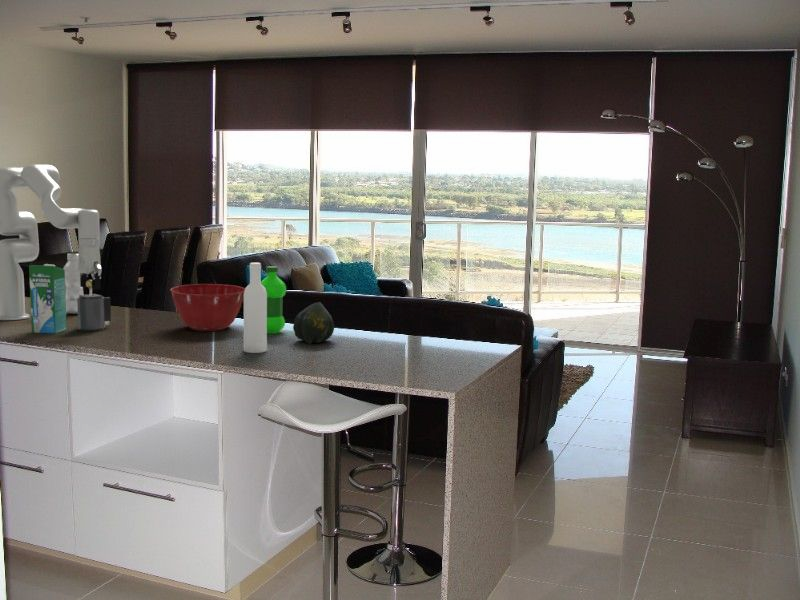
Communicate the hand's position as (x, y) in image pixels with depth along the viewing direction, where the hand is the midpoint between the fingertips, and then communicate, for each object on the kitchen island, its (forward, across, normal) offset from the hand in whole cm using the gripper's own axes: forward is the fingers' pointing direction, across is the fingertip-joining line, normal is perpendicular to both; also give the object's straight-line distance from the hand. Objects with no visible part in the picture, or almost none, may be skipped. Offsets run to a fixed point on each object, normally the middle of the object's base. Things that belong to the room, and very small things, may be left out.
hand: (90, 288), depth 327 cm
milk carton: (+16, -5, -14) cm, 22 cm away
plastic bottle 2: (+16, +46, +50) cm, 70 cm away
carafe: (+15, 0, +1) cm, 16 cm away
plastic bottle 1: (+16, -37, +10) cm, 41 cm away
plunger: (+13, 0, 0) cm, 13 cm away
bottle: (+16, +71, +25) cm, 77 cm away
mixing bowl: (+16, +24, +36) cm, 46 cm away
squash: (+16, +70, +51) cm, 88 cm away
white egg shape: (+16, -8, +7) cm, 19 cm away
